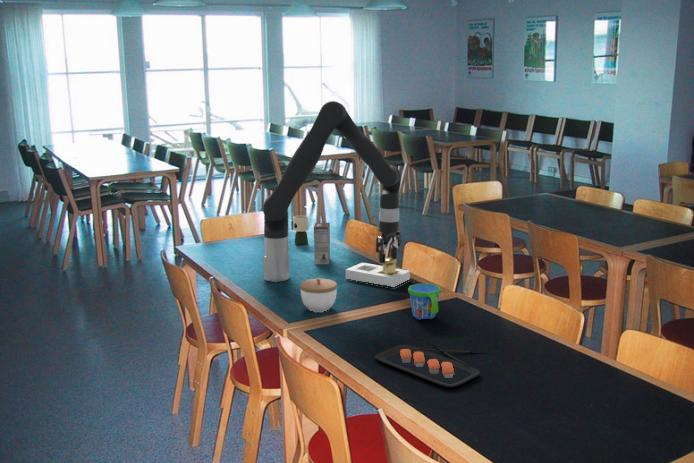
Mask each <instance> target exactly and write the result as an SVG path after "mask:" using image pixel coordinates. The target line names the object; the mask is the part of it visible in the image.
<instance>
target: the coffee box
mask: <svg viewBox="0 0 694 463" xmlns="http://www.w3.org/2000/svg"><path fill="white" fill-rule="evenodd" d="M330 224H331V223H330V222H315V223H314V226H313V245H314V246H313V247H314V248H313V249H314V250H313V254H314V265H329V264H330V261H331V241H330V240H331V236H330V235H331V234H330V230H331V229H330V228H331V226H330Z"/></svg>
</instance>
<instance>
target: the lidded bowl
mask: <svg viewBox="0 0 694 463" xmlns="http://www.w3.org/2000/svg"><path fill="white" fill-rule="evenodd" d="M299 288H300V298H301V301H302V303H303V305H304V306H305V307H306V308H307V309H308V311H309V310H310V312H311V311H313V312H312V313H318V312H319V313H325V312H324V311H326V312H328V311H329V310H330V308H332V306H333V305H334V304H335V302H336V299H337V292H338V289H337V288H338V284H337V282H336V281H334V280H332V279H328V278H320V277H317V278H311V279H310V278H309V279H306V280H303V281H302V282H300V284H299ZM327 310H328V311H327Z"/></svg>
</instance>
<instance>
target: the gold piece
mask: <svg viewBox="0 0 694 463" xmlns="http://www.w3.org/2000/svg"><path fill="white" fill-rule="evenodd" d="M397 262H398V259H397V258H391V256H390V257H385V263H382V266H383V274H386V275H394V274H396V266H397Z"/></svg>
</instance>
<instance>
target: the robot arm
mask: <svg viewBox="0 0 694 463" xmlns="http://www.w3.org/2000/svg"><path fill="white" fill-rule="evenodd" d="M335 130H337V131H338V132H339V133H340V134H341V135H342V136H343V137H344V138H345V140H347V142H348V143H349V144H350V147H352V148H353V150H354V151H355V153H356V154H357V155H358V157H359V158H360V159H361V160H362V161H363V163H365V164H366V166H367V167H369V168H370V170H371V172H372V173H373V175H374V176H375V178H376V179H377V181H378V182H379V183H380V184H381V185H382V192H381V193H380V195H379V196H380V199H379V202H380V203H379V211H378V213H379V216H378V231H379V232H380V233H381V236H376V242H375V243H376V246H375V253H377V254H379V256H378V258H379V263H380V264H383V263H385V258H386V253H387V250H388V249H390V248H389V247H391V251H390V257H391V258H396V259H397V258H398V250H399V247H401V244H402V243H401V241H402V240H401V239H402V238H401V237H402V233H401V231H400V208H399V204H400V203H399V202H400V199H399V198H400V190H401V183H402V182H401V181H402V176H401V175H402V173H401V170H400V169H399V168H398V167H397V166H395V165H389V164H388V162H387V161H386V160H385V155H384V154H383V153H382V152H381V151H380V150H379V149H378V147H377V146H376V145H375V144H374V143H373V142H372V140H370V139H369V137H367V135H366V134H364V132H363V131H362V130H361V129H360V128H359V126H357V124H356V123H355V122H354V120H353V119H352V117H351V115H350V114H349V112H348V111H347V109H346V107H345V106H344V105H343V104H342V103H340V102H338V101H335V100H330V101H327V102H325V103H324V104H323V105H322V107H320V110H319V112H318V115H317V116H316V119H315V120H314V122H313V125H312V127H311V128H310V129H309V131H308V133H307V134H306V136H305V137H304V139H303V140H302V141H301V143H300V144H299V145H298V147H297V149H296V150H295V152H294V154H293V155H292V157H291V158H290V160H289V162H288V164H287V166H286V168H285V170H284V173H283V175H282V177H281V179H280V181H279V183H278V185H277V187H276V188H275V189H274V190H273V191H272V193H271V194H270V195H268V196H267V198H265V201H264V203H263V205H262V213H263V216H264V218H263V219H264V222H263V223H264V227H263V228H264V229H263V233H264V234H263V235H264V236H263V237H264V239H263V241H264V256H263V257H262V258H263V280H264V281H268V282H273V283H278V282H285V281H287V280H289V279H290V262H289V211H288V210H289V208H290V206H291V203H292V201H293V200H294V197H295V196H296V194H297V192H298V191H299V190H300V189H301V187H302V186H303V184H304V183H305V182H306V181H307V179H308V178H309V177H310V175H311V174H312V172H313V171H314V169H315V167H316V166H317V164H318V163H319V161H320V159H321V156H322V153H323V151H324V148H325V145H326V143H327V140H328V139H329V137H330V136H331V135H332V133H333V132H334V131H335Z"/></svg>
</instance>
